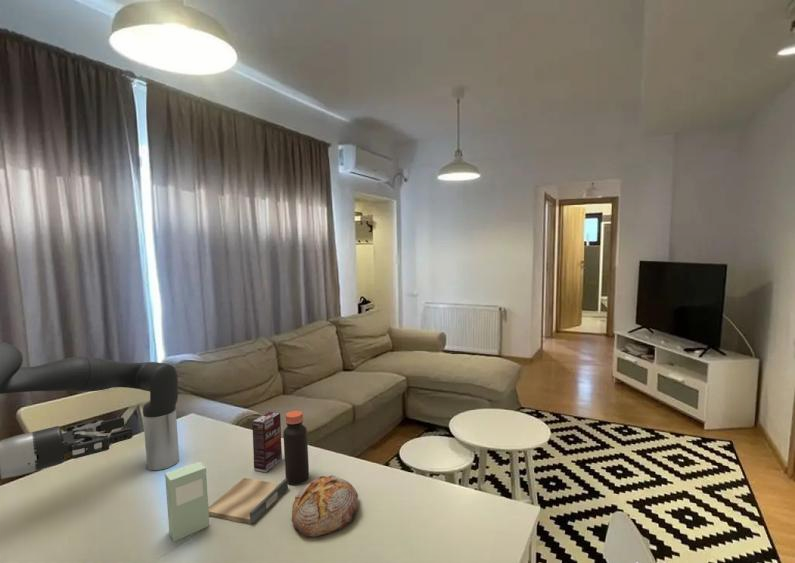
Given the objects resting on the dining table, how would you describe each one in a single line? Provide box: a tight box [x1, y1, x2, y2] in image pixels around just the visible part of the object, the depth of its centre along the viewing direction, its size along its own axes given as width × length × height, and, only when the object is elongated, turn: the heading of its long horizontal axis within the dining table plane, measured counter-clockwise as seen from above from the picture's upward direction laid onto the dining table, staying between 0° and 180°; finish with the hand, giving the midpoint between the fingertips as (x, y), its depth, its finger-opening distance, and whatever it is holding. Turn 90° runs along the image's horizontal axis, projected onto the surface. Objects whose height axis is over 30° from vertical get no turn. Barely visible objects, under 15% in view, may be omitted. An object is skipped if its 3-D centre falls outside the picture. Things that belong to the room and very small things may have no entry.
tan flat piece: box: [208, 477, 289, 525], centre depth 114 cm, size 15×16×3 cm
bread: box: [291, 474, 359, 537], centre depth 107 cm, size 16×20×10 cm
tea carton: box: [164, 460, 210, 542], centre depth 102 cm, size 4×8×15 cm, turn 133°
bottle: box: [282, 410, 310, 486], centre depth 124 cm, size 7×7×20 cm
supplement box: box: [252, 411, 283, 473], centre depth 132 cm, size 9×5×16 cm, turn 160°
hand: (127, 427), depth 93 cm, fingers open, 8 cm apart
